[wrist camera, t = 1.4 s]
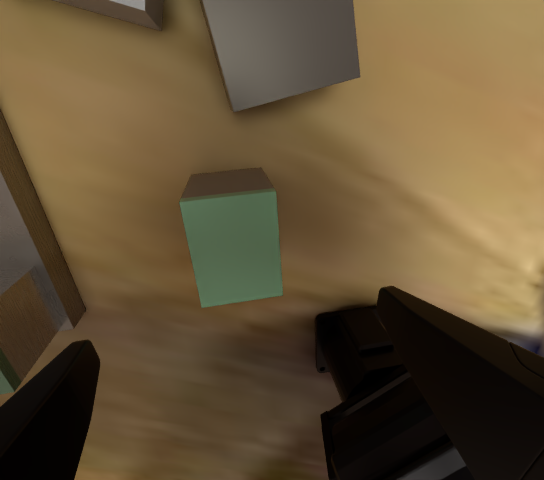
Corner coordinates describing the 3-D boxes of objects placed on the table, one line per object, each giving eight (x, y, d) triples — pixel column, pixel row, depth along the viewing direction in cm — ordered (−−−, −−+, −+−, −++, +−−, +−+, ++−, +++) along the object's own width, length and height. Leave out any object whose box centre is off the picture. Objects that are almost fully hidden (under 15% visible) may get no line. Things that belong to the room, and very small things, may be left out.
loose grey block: (325, 83, 18) (360, 77, 13) (230, 110, 18) (233, 112, 13) (299, -96, 14) (334, -186, 10) (180, -66, 14) (162, -144, 10)
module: (267, 248, 22) (283, 295, 17) (206, 256, 21) (201, 307, 16) (260, 167, 19) (276, 191, 14) (191, 174, 19) (179, 202, 13)
